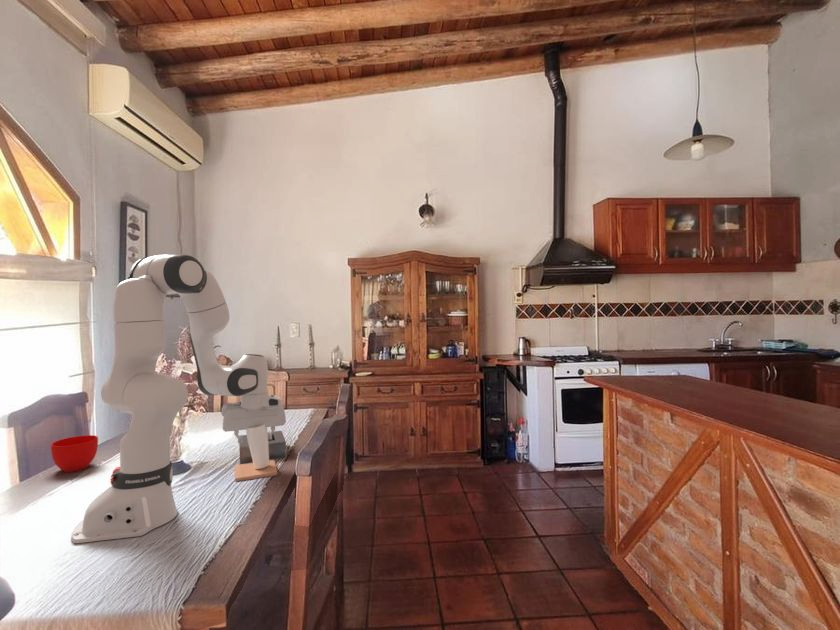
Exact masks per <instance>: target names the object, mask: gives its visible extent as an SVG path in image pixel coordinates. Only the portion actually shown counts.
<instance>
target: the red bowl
mask: <svg viewBox="0 0 840 630" xmlns="http://www.w3.org/2000/svg"><path fill="white" fill-rule="evenodd" d="M98 446H99V436H97V435H93V434H92V435H91V434H89V435H85V434H84V435H76V436H71V437H66V438H62V439H59V440H58V439H57V440H56V441H54V442H52V443H51V445H50V451H51V457H52V460H53V462H54V464H55V465H56V467H58V468H59V469H60V470H61V471H63V472H65V473H73V472H78V471H82V470H84V469H86V468H88V467H89V465H90V464H91V463H92V462H93V460H94V459H95V457H96V454H97V451H98Z"/></svg>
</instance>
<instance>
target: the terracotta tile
mask: <svg viewBox="0 0 840 630" xmlns="http://www.w3.org/2000/svg"><path fill="white" fill-rule="evenodd" d="M234 470H235V471H234V472H235V473H234V475H235V477H234V478H235V479H234V481H235V482H239V481H240V482H241V481H246V480H253V479H260V478H266V477H272V476H278V470H277V464H276V461H275V459H272V460H270V464H269V465H268V466H267V467H265V468H262V469H255V468H254V466H253V462H251V463H244V464H240V463H239V464H235V466H234Z"/></svg>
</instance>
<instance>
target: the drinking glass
mask: <svg viewBox="0 0 840 630" xmlns="http://www.w3.org/2000/svg"><path fill="white" fill-rule="evenodd" d="M268 432H269V431H268V427H266V426H265V424H264V425H262V426H259V427H254V428H247V429H246V430H245V433H246V434H245V435H247V440H248V444H249V448H250V452H251V456H252V461H253V462H252V463H253V466H254V468H255V469H262V468H265V467H267V466H268V465H269V464H270V460H269V445H268Z"/></svg>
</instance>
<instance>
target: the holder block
mask: <svg viewBox="0 0 840 630" xmlns="http://www.w3.org/2000/svg"><path fill="white" fill-rule="evenodd" d="M270 432H271V431H268V434H269V433H270ZM239 436H240V437H243V443H238V444H239V465H240V464H247V463H253V461H252V456H251V452H250V448H249V444H248V440H247V434H242V435H239ZM268 445H269V460H278V459H284V458H287V446H286V445H287V441H286V439H285V435H284V434H283V431H282V430H277V431H274V432H273V434H272V439H271V440H268Z"/></svg>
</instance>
